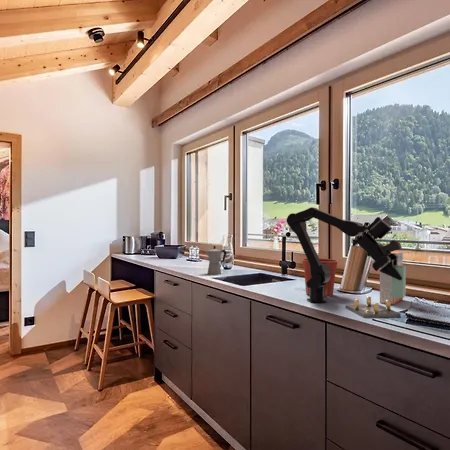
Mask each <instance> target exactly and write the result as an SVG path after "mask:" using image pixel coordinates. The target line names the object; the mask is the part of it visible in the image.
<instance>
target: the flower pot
mask: <svg viewBox="0 0 450 450" xmlns="http://www.w3.org/2000/svg"><path fill="white" fill-rule="evenodd" d="M319 260H320V261H321V263H322V264H327V265H328V269H329V270H330V271H331V273H330V275H331V277H330V280H329V281H328V282H327V283H326V286H323V287H324V298H326V297H327V298H328V297H333V296H334V289H335V281H336V271H337V268H338V262H339V260H337V259H331V258H319ZM301 261H302V265H303V271H304V272H303V273H304V284H305V294H306V295H309V296H310V288H308V287H307V284H306V282H307V281H308V280H309V279H311V278H312V277H311V273H310V264H309V262H308V260H307V258H301Z"/></svg>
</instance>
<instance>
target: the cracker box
mask: <svg viewBox="0 0 450 450" xmlns="http://www.w3.org/2000/svg"><path fill="white" fill-rule="evenodd" d="M391 253H395V254H396V255H397V256H398V262H397V264H398V265H403V264H404V261H403V259H404V257H403V255H404V254H403V253H404V252H402V251H397V250H395V251H392V252H391ZM396 259H397V258H396ZM403 266H404V265H403ZM381 269H382V268H379V303H380V304H385V305H386V300H391V305H395V304H398V303H399V302H401V301H403V300H404V298H399V297H391V278H392V277H391V276H389V275H387V274H385V273H382V272H380V270H381Z"/></svg>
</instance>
